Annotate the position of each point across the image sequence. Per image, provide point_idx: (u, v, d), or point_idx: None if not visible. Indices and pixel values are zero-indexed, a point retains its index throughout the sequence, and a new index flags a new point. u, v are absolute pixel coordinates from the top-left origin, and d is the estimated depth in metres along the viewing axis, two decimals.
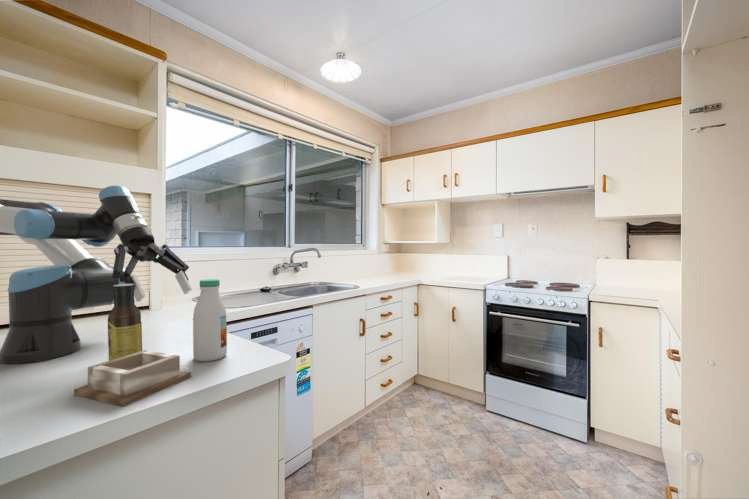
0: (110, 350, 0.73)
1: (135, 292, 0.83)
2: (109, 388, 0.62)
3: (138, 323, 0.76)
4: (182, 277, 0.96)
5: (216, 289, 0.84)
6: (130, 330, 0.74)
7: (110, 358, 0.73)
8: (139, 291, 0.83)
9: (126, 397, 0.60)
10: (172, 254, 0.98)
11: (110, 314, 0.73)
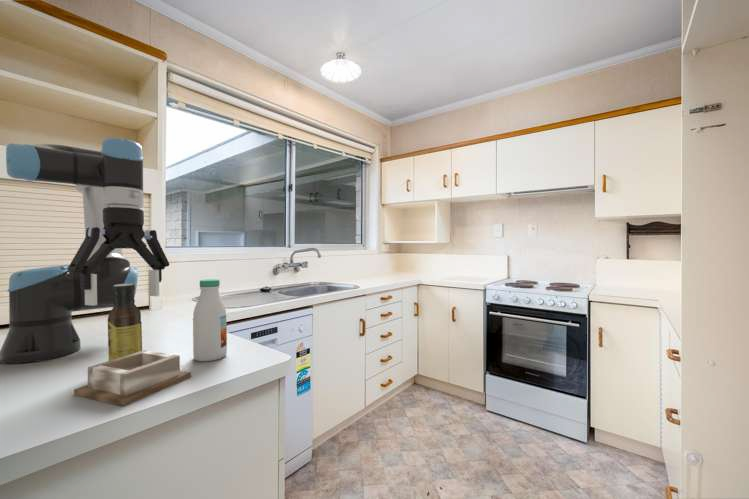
0: (110, 350, 0.73)
1: (87, 294, 0.69)
2: (109, 388, 0.62)
3: (138, 323, 0.76)
4: (155, 278, 0.81)
5: (216, 289, 0.84)
6: (130, 330, 0.74)
7: (110, 358, 0.73)
8: (92, 298, 0.68)
9: (126, 397, 0.60)
10: (157, 245, 0.81)
11: (110, 314, 0.73)
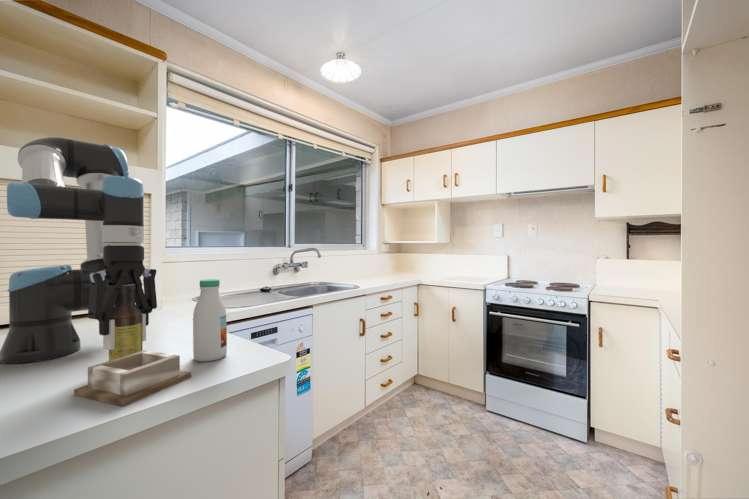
0: (110, 350, 0.73)
1: (106, 339, 0.72)
2: (109, 388, 0.62)
3: (139, 323, 0.76)
4: None
5: (216, 289, 0.84)
6: (130, 330, 0.74)
7: (110, 358, 0.73)
8: (110, 343, 0.72)
9: (126, 397, 0.60)
10: (152, 285, 0.80)
11: None
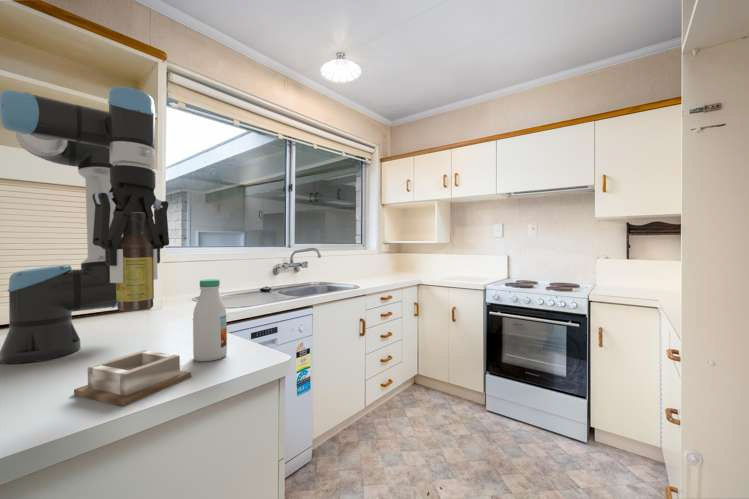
0: (118, 284, 0.64)
1: (113, 271, 0.64)
2: (109, 388, 0.62)
3: (150, 257, 0.67)
4: None
5: (216, 289, 0.84)
6: (140, 262, 0.65)
7: (118, 293, 0.64)
8: (118, 275, 0.63)
9: (126, 397, 0.60)
10: (163, 218, 0.72)
11: None
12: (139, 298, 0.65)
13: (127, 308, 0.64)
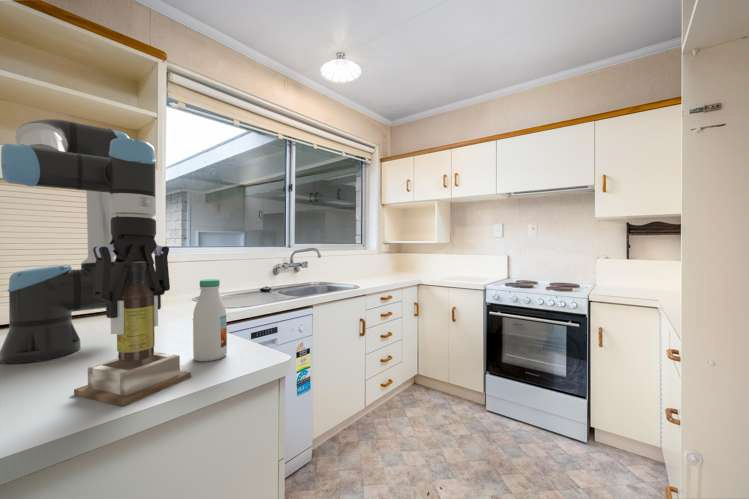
0: (119, 335, 0.64)
1: (114, 322, 0.64)
2: (109, 388, 0.62)
3: (151, 306, 0.67)
4: None
5: (216, 289, 0.84)
6: (141, 313, 0.65)
7: (119, 344, 0.64)
8: (119, 327, 0.63)
9: (126, 397, 0.60)
10: (164, 264, 0.72)
11: None
12: (140, 348, 0.65)
13: (128, 359, 0.64)
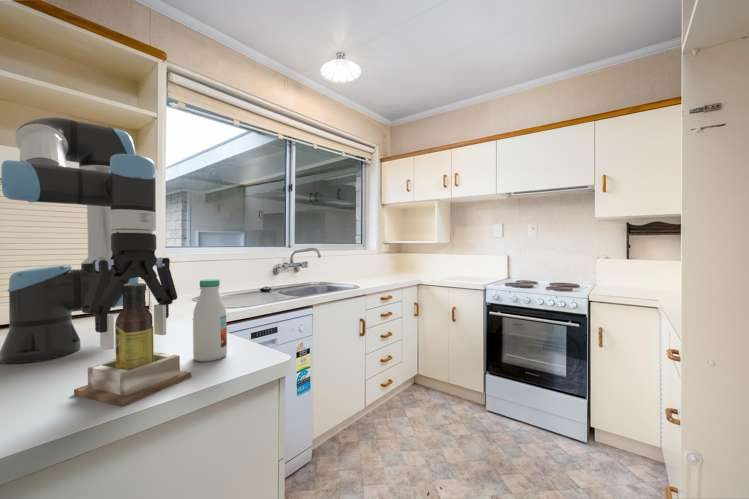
0: (118, 358, 0.64)
1: (103, 337, 0.62)
2: (109, 388, 0.62)
3: (150, 328, 0.67)
4: (161, 314, 0.71)
5: (216, 289, 0.84)
6: (140, 336, 0.65)
7: (118, 368, 0.64)
8: (108, 341, 0.62)
9: (126, 397, 0.60)
10: (167, 275, 0.73)
11: (118, 318, 0.64)
12: None
13: None
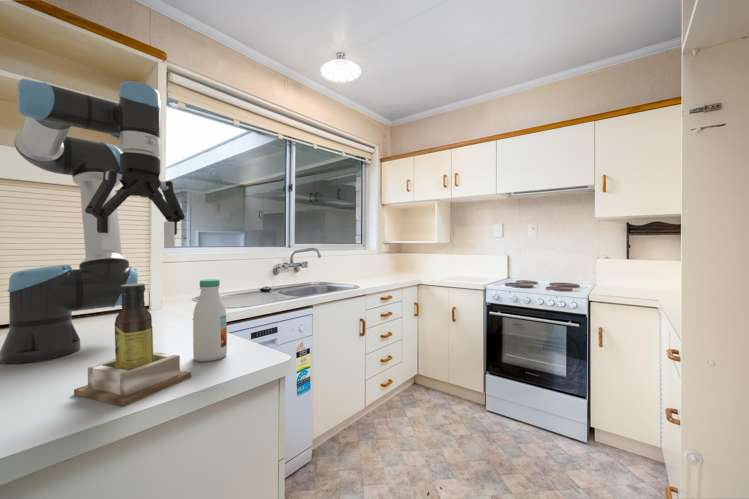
0: (118, 359, 0.64)
1: (104, 238, 0.68)
2: (109, 388, 0.62)
3: (149, 328, 0.67)
4: (170, 230, 0.80)
5: (216, 289, 0.84)
6: (140, 336, 0.65)
7: (118, 368, 0.64)
8: (109, 242, 0.68)
9: (126, 397, 0.60)
10: (173, 197, 0.81)
11: (117, 318, 0.64)
12: None
13: None
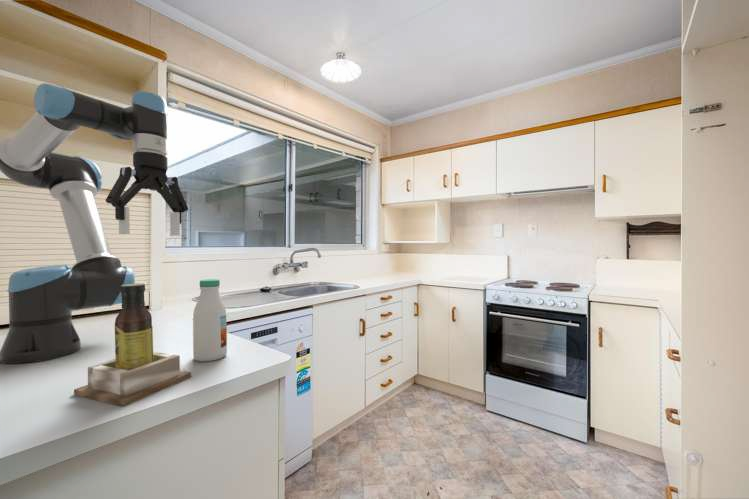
0: (118, 359, 0.64)
1: (121, 224, 0.80)
2: (109, 388, 0.62)
3: (149, 328, 0.67)
4: (176, 219, 0.92)
5: (216, 289, 0.84)
6: (140, 336, 0.65)
7: (118, 368, 0.64)
8: (125, 227, 0.79)
9: (126, 397, 0.60)
10: (178, 190, 0.93)
11: (118, 318, 0.64)
12: None
13: None
